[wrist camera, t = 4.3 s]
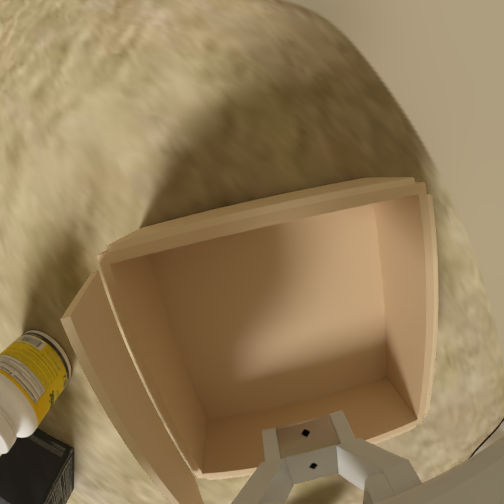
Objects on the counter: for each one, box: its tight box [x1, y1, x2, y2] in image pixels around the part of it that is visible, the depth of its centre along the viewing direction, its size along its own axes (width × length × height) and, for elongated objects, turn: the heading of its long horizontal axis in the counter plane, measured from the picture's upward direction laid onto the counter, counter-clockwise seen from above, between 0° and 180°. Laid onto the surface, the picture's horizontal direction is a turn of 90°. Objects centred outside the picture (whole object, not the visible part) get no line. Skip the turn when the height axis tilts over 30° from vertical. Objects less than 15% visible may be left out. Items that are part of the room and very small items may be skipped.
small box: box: [0, 429, 74, 504], centre depth 18 cm, size 11×6×10 cm, turn 157°
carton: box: [97, 177, 438, 480], centre depth 17 cm, size 15×16×6 cm
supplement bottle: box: [0, 330, 71, 454], centre depth 15 cm, size 5×5×10 cm
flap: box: [60, 271, 204, 504], centre depth 11 cm, size 6×14×1 cm
